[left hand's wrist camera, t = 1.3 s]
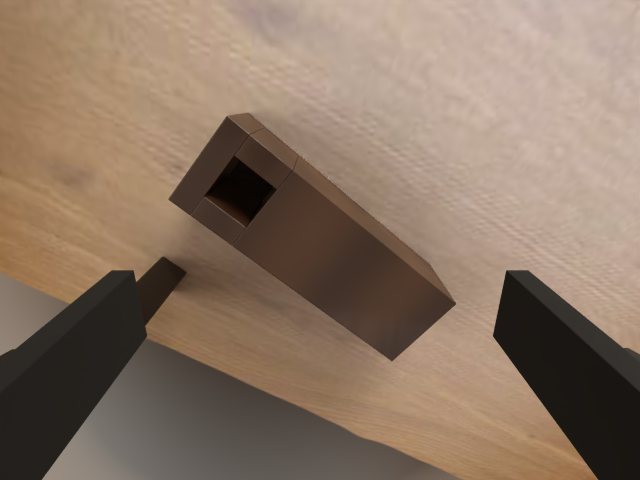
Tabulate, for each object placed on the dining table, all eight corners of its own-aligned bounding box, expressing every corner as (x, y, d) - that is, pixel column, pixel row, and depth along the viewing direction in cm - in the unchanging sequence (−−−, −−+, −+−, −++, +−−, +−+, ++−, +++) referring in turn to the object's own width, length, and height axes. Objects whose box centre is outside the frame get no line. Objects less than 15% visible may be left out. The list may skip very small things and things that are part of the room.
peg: (148, 275, 39) (79, 345, 28) (162, 256, 38) (97, 320, 27) (172, 291, 40) (114, 365, 29) (186, 272, 39) (133, 341, 28)
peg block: (200, 178, 35) (167, 199, 28) (247, 112, 33) (227, 115, 26) (378, 314, 41) (392, 361, 33) (430, 264, 39) (456, 303, 31)
